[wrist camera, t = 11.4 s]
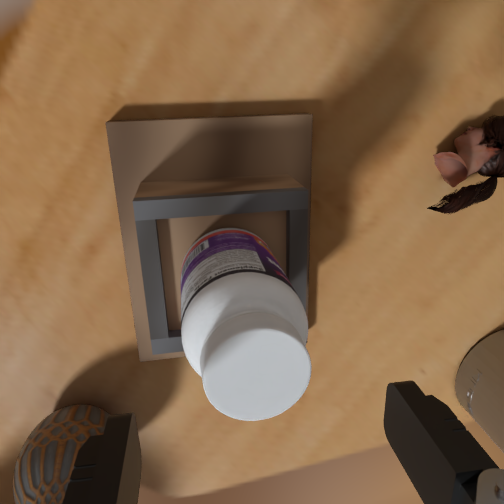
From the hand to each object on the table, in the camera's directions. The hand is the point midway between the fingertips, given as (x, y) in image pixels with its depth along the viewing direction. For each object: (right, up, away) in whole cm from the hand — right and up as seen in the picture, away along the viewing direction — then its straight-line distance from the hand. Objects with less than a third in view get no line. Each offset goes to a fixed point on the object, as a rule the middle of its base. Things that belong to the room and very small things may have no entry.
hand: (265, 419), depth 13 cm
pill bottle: (-2, +4, +11) cm, 12 cm away
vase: (-13, -8, +19) cm, 25 cm away
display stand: (-3, +6, +15) cm, 17 cm away
